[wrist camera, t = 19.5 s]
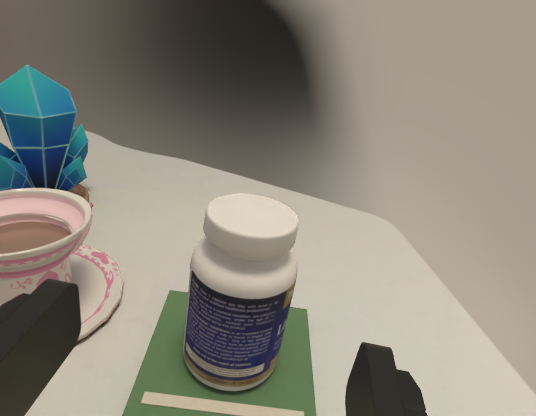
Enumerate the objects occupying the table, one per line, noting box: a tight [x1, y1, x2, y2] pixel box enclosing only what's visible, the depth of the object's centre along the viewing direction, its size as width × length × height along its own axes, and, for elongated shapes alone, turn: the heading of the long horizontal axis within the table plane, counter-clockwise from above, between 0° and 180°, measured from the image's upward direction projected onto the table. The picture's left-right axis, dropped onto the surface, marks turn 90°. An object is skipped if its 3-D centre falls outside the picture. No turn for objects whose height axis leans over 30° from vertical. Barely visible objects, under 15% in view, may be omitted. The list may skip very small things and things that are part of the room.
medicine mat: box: [122, 290, 316, 416], centre depth 25 cm, size 10×10×1 cm
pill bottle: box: [183, 194, 298, 391], centre depth 22 cm, size 6×6×10 cm
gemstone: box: [0, 65, 89, 202], centre depth 35 cm, size 7×9×12 cm
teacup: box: [0, 188, 123, 341], centre depth 26 cm, size 12×12×6 cm
